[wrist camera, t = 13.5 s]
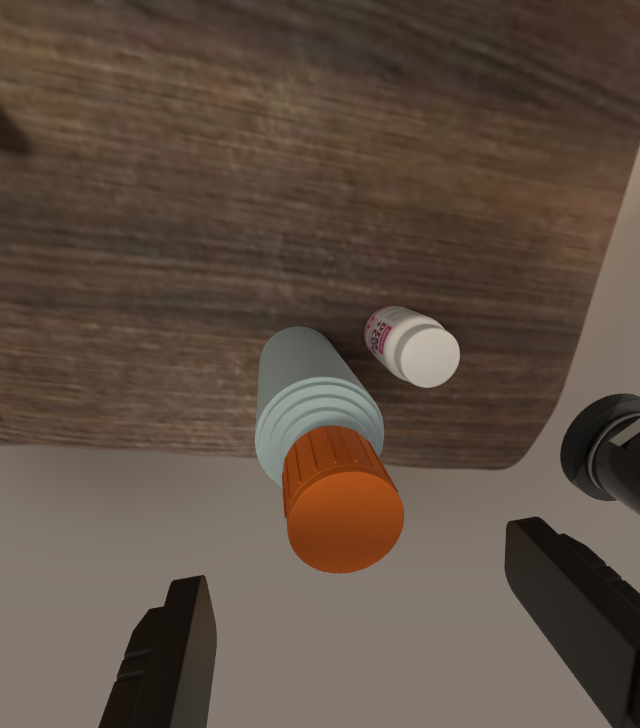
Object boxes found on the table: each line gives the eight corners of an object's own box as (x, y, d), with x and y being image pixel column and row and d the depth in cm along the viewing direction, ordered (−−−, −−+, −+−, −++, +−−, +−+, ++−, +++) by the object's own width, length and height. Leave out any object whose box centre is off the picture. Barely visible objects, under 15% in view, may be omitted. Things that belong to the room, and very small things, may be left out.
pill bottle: (357, 312, 32) (389, 331, 24) (412, 298, 32) (462, 312, 24) (368, 366, 33) (402, 401, 25) (421, 352, 33) (470, 382, 25)
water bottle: (347, 341, 32) (458, 455, 14) (320, 409, 34) (387, 598, 15) (274, 315, 31) (287, 402, 12) (249, 387, 32) (225, 565, 14)
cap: (355, 518, 17) (378, 584, 14) (268, 496, 16) (268, 561, 13) (391, 439, 16) (425, 488, 13) (301, 411, 15) (311, 456, 12)
